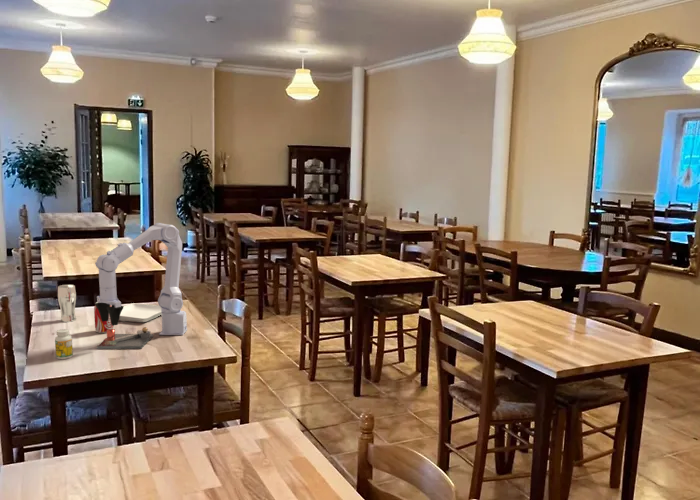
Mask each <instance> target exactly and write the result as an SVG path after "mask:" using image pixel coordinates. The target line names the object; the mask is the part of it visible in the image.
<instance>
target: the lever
mask: <svg viewBox="0 0 700 500" xmlns="http://www.w3.org/2000/svg"><path fill="white" fill-rule="evenodd" d="M148 331H149V334H152V333H151V331H150V330H148ZM142 332H143V331H142V329H141V330H137V331H136V333H131V334H132V335H127V336H123V337H119V338H115V334H116V330H115V328H114V329H108V330H107V333H106V338H107V341H110V342H111V343H114V342H118V341H123V340H127V339H131V338H135V337H141V333H142Z"/></svg>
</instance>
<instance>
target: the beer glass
mask: <svg viewBox="0 0 700 500" xmlns="http://www.w3.org/2000/svg"><path fill="white" fill-rule="evenodd" d="M57 301H58V304H59V307H60V309H59V310H60V313H61V315H60V322H61V323H72V322H75V321H77V318H76V312H75V311H76V309H75V308H76V304H77V303H76V302H77V292H76V285H74V284H62V285H61V284H60V285H58V286H57Z"/></svg>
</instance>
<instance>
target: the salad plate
mask: <svg viewBox="0 0 700 500" xmlns="http://www.w3.org/2000/svg"><path fill="white" fill-rule="evenodd" d="M160 315H161V307H160V306H159V304H157V305H156V304H148V303H147V304H145V303H134V302H133V303H132V302H131V303H130V304H127V305H125V306H123V310H122V311H121V314H120V317H119V321H122V322H132V323H133V322H134V323H146V322H149V321H151V320H154V319H155V318H158V316H159V317H160ZM161 316H162V315H161Z"/></svg>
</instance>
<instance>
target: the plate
mask: <svg viewBox="0 0 700 500" xmlns="http://www.w3.org/2000/svg"><path fill="white" fill-rule="evenodd" d="M141 330H142V331H143V332H142V333H141V337H135V338H131V339H127V340H123V341H118V342H114V343H111V342H110V341H107V337H106V338H103V341H101V342H100V343H98V345H97V346H96V350H127V349H128V350H142V349H143V348H144V347H145V346H146V345H147V344H148V342H149V341H150V340H151V339H153V337H154V334H153V333H151V334H149V331H150V330H149V329H148V328H147V327H146V326H145V327H142V329H141ZM132 334H133V333H115V338H119V337H123V336H127V335H132Z"/></svg>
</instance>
